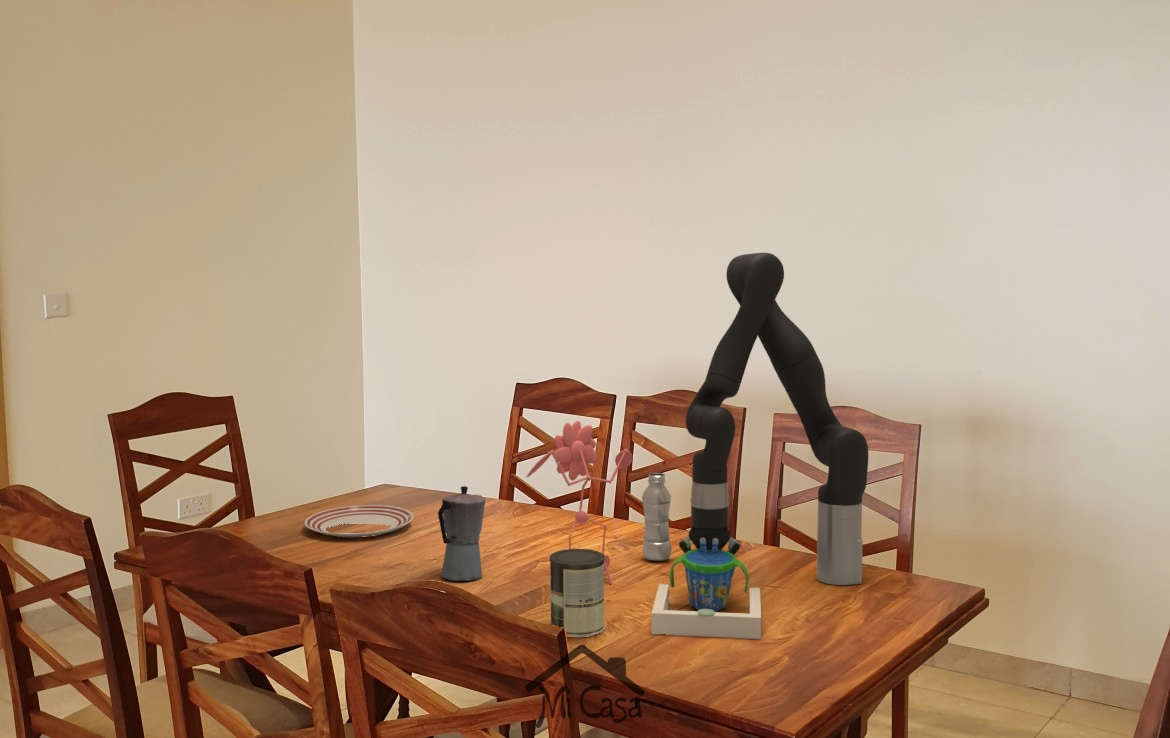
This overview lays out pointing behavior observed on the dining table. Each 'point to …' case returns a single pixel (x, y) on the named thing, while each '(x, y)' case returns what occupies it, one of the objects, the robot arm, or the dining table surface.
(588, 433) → the figurine
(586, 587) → the coffee can
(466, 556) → the moka pot
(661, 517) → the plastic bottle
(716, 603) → the snack cup
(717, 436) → the robot arm
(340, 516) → the dinner plate
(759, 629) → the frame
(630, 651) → the dining table surface
